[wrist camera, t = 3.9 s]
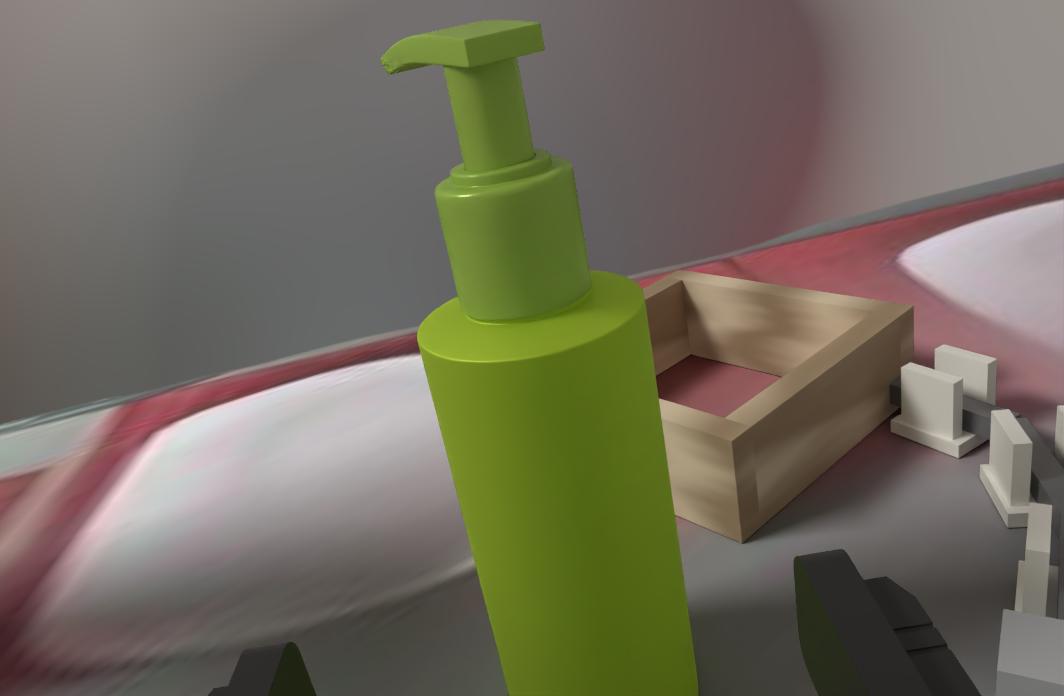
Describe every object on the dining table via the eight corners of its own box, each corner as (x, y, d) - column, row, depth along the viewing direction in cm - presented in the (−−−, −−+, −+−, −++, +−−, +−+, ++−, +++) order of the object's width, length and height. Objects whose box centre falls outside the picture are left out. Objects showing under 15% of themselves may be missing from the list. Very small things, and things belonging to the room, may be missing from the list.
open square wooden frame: (515, 446, 42) (497, 365, 40) (687, 342, 49) (678, 269, 48) (742, 543, 32) (731, 441, 30) (913, 394, 39) (913, 305, 38)
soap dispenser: (608, 585, 31) (503, 12, 23) (739, 699, 25) (657, -10, 18) (468, 664, 29) (299, 56, 21) (577, 808, 23) (401, 47, 15)
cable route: (1005, 773, 22) (1010, 680, 21) (882, 407, 39) (881, 344, 38) (1280, 786, 20) (1304, 686, 19) (1026, 399, 37) (1030, 333, 36)
